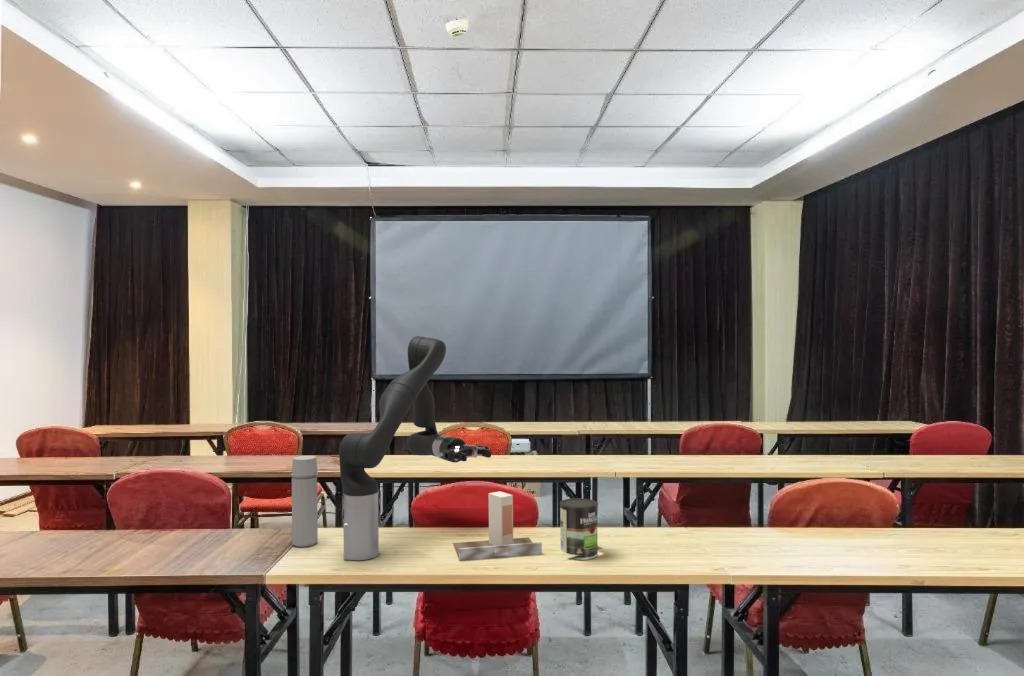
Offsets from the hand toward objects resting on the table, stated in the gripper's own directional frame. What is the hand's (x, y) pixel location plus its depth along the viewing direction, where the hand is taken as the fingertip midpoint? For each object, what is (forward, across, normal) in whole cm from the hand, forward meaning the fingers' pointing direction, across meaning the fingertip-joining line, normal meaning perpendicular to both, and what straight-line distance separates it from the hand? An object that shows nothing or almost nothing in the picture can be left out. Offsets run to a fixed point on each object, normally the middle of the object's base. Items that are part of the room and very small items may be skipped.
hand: (478, 455), depth 191 cm
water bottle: (-29, -41, +25) cm, 56 cm away
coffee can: (+27, +14, +25) cm, 40 cm away
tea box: (+11, 0, +23) cm, 26 cm away
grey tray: (+13, -3, +25) cm, 28 cm away
